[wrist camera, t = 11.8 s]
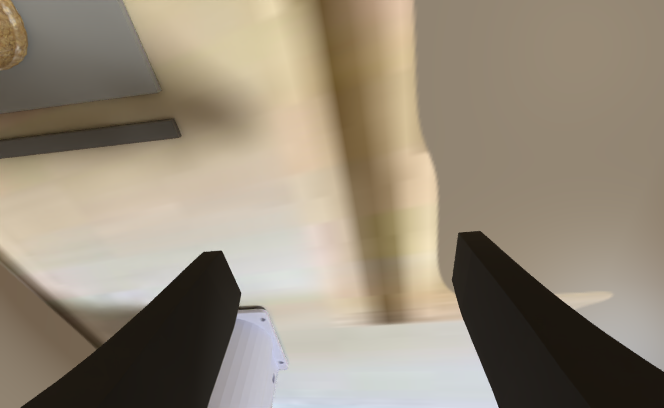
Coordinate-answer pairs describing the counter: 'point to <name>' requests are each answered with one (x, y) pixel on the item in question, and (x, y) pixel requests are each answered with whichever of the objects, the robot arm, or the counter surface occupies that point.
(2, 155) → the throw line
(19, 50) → the sprinkles bottle
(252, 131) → the counter surface
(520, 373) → the robot arm
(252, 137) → the counter surface
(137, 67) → the mat
